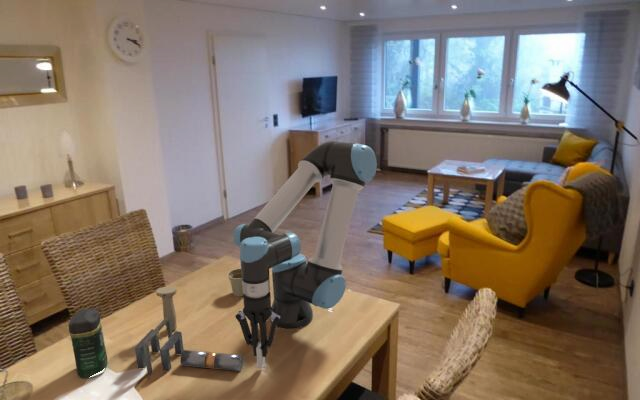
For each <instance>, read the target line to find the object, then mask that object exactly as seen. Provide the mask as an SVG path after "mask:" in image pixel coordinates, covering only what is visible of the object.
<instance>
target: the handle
mask: <svg viewBox="0 0 640 400" xmlns="http://www.w3.org/2000/svg"><path fill="white" fill-rule="evenodd" d="M177 291H178V290H177V287H175V286H162V287H159V288H157V289H156V291H155V293H156V296H157V297H160V298H161V301H162V313H163V320H164V319H165V318H166V316H170V320H171V328H172V332H175V331H177V330H176V329H177V328H178V327H177V314H176V308H175V303H174V296H175V295H177V293H178V292H177ZM164 326H165V329H166V330H167V326H166V324H165V325H164Z"/></svg>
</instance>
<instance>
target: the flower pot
mask: <svg viewBox="0 0 640 400" xmlns="http://www.w3.org/2000/svg"><path fill="white" fill-rule="evenodd" d="M226 276H227V278H228V280H229V282H230V286H231V291H232V294H233V296H235V297H238V298H240V297H243V294H244V293H243V286H242V272H241V267H239V268H235V269H231V270H230V271H229V272H227V275H226Z"/></svg>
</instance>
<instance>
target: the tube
mask: <svg viewBox="0 0 640 400" xmlns="http://www.w3.org/2000/svg"><path fill="white" fill-rule="evenodd" d="M179 360H180V361H179V362H180V365H181V366H185V367H195V368H203V369H204V368H207V369H217V370H225V371H227V370H228V371H237V372H241V371H242V369H243V366H244V363H245V361H244V356H243V354H236V353H235V354H233V353H225V352H224V353H223V352H211V351H201V350H190V349H189V350H188V349H184V351H183V352H182V354H181V355H180V359H179Z"/></svg>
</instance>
